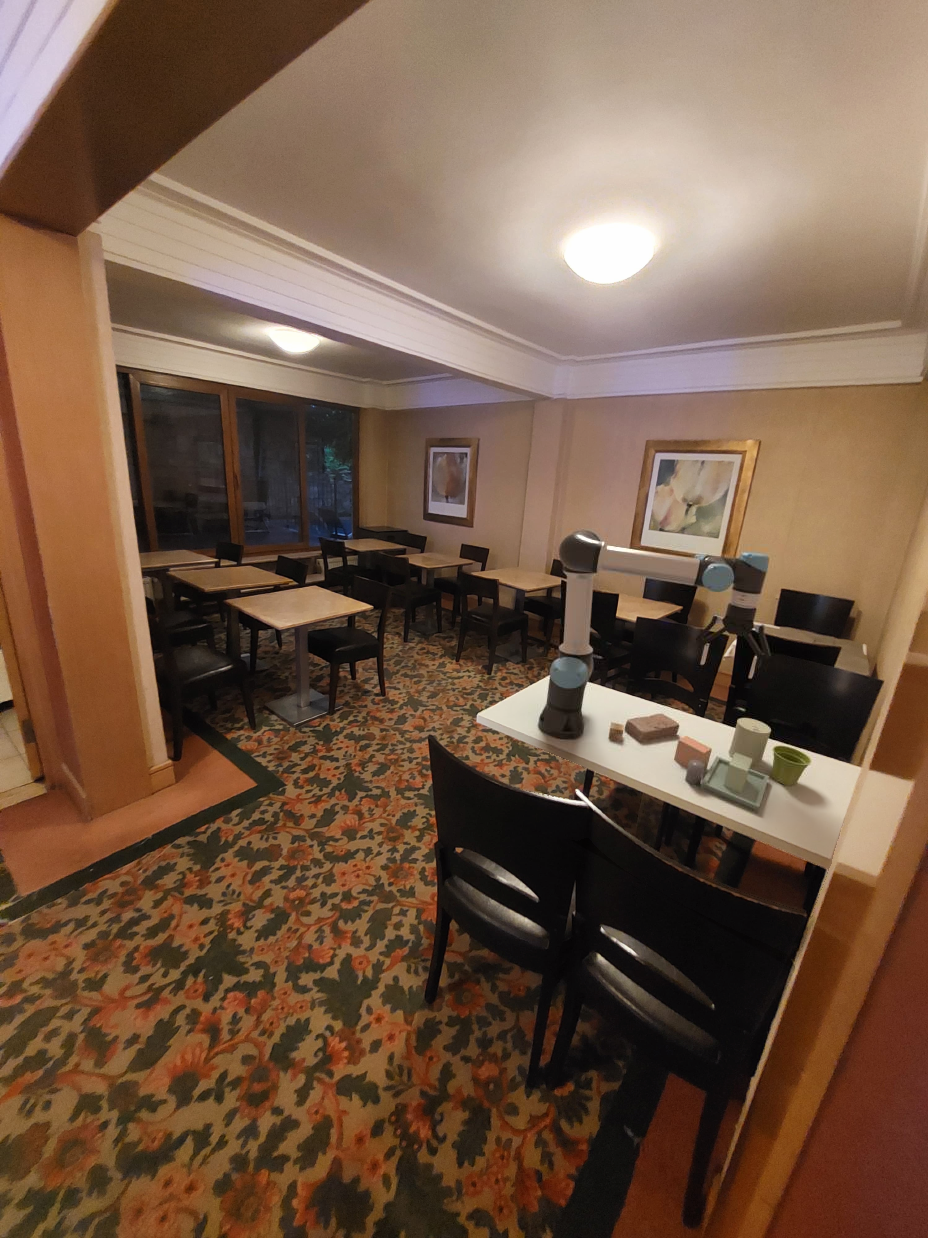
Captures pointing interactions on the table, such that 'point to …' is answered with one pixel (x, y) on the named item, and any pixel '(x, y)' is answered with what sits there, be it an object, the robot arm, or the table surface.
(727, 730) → the table surface
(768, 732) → the can
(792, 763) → the plant pot
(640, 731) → the brick
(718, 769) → the tray
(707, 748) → the terracotta block
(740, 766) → the sage block
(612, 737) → the oak block
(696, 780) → the grey canister
